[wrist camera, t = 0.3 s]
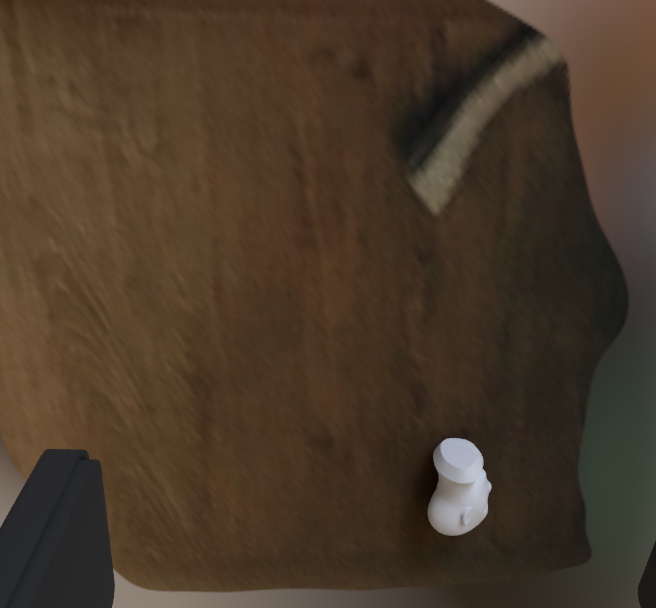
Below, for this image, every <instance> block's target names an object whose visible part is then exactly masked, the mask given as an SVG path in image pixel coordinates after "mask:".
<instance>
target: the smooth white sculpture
mask: <svg viewBox="0 0 656 608" xmlns="http://www.w3.org/2000/svg"><path fill="white" fill-rule="evenodd" d="M433 460H434V464H435V467H436V469H437V471H438V474H439V482H438V483H437V489H436V490H435V492H434V494H433V496H432V498H431V500H430V503H429V506H428V518H429V521H430V523H431V525H432V526H433V527H434V529H436V530H437V531H438V532H440V533H442V534H445V535H451V536H454V535H461V534H464V533H466V532H468V531H470V530H471V529H473V528H474V527H476V526H477V525H478V524H479V523H480V522H481V521H482V520H483V519H484V518H485V516H486V515H487V512H488V504H487V501H488V495H489V492H490V491H491V483H490V482H489V481H487V479H486V473H485V471H484V470H483V469H482V468H483V457H482V455H481V453H480V451H479V450H478V449H477V448H476V447H475V445H474V444H473V443H471V442H470V441H467V440H464V439H459V438H449V439H446V440H444V441H443V442H442V443H440V444H439V445H438V446H437V448H436V449H435V450H434V453H433Z"/></svg>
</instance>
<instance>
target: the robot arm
mask: <svg viewBox="0 0 656 608" xmlns="http://www.w3.org/2000/svg"><path fill="white" fill-rule="evenodd" d="M114 588H115V584H114V574H113V565H112V557H111V548H110V540H109V531H108V523H107V514H106V505H105V497H104V488H103V480H102V471H101V465H100V462H99V460H89V456H88V453H87V451H86V450H71V449H47V450H45V451H44V453H43V454H42V455H41V457H40V459H39V460H38V462H37V464H36V466H35V467H34V469H33V471H32V473H31V475H30V476H29V478H28V480H27V482H26V483H25V485H24V487H23V489H22V490H21V492H20V494H19V496H18V498H17V499H16V501H15V503H14V505H13V507H12V508H11V510H10V512H9V513H8V515H7V517H6V519H5V520H4V522H3V524H2V526H1V528H0V608H112V604H113V599H114ZM638 598H639V603H640V606H641V608H656V542H655V545H654V547H653V549H652V552H651V555H650V557H649V560H648V562H647V565H646V568H645V570H644V573H643V575H642V578H641V580H640V583H639V587H638Z"/></svg>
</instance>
